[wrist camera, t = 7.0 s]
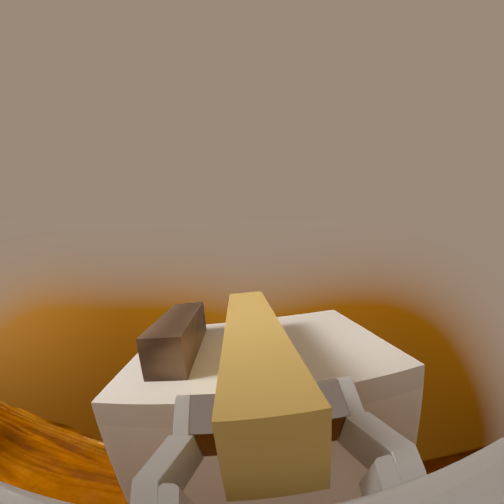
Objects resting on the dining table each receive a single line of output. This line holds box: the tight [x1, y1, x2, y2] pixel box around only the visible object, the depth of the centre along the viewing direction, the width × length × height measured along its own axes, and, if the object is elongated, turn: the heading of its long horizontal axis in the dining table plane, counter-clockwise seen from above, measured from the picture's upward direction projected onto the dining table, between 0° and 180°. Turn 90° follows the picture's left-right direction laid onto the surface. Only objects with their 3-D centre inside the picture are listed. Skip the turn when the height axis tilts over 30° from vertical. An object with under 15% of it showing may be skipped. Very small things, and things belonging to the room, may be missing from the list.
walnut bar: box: [136, 302, 206, 382], centre depth 26 cm, size 3×14×3 cm, turn 3°
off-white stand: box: [91, 310, 425, 504], centre depth 26 cm, size 20×20×26 cm
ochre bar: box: [211, 291, 332, 502], centre depth 19 cm, size 3×24×3 cm, turn 3°
